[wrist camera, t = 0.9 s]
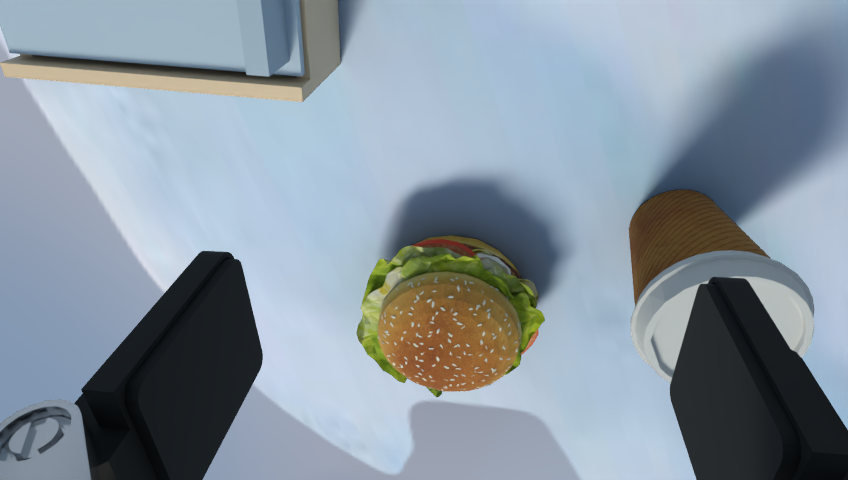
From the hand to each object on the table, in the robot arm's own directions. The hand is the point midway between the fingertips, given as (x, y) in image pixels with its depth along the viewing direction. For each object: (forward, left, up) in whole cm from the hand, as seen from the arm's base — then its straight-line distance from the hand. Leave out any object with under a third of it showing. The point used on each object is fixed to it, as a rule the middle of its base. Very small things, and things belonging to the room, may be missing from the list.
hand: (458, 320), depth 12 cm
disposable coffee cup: (+13, +14, -28) cm, 34 cm away
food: (+21, -2, -28) cm, 35 cm away
